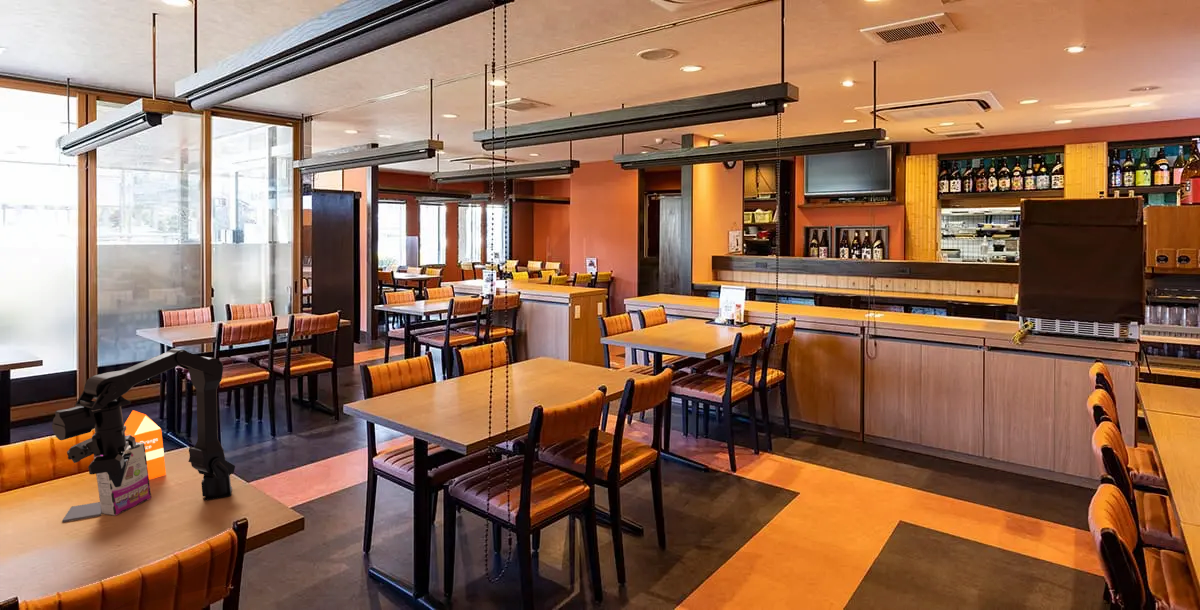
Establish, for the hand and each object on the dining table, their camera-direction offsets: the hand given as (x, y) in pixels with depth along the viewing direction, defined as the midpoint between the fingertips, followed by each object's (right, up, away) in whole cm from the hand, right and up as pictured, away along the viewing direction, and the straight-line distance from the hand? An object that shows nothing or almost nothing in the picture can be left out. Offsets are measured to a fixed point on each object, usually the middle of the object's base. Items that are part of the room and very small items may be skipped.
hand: (118, 486), depth 164 cm
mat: (-18, -10, +13) cm, 24 cm away
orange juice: (-19, -7, +37) cm, 42 cm away
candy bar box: (-10, -10, +16) cm, 22 cm away
